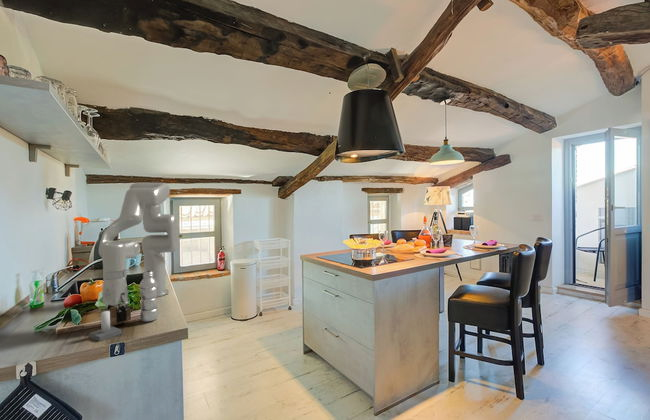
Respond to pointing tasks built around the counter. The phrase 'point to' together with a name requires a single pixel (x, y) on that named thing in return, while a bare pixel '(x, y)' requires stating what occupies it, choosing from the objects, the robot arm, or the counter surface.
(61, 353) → the counter surface
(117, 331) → the post base
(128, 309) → the wooden block with hole
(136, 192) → the robot arm
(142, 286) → the plastic bottle
